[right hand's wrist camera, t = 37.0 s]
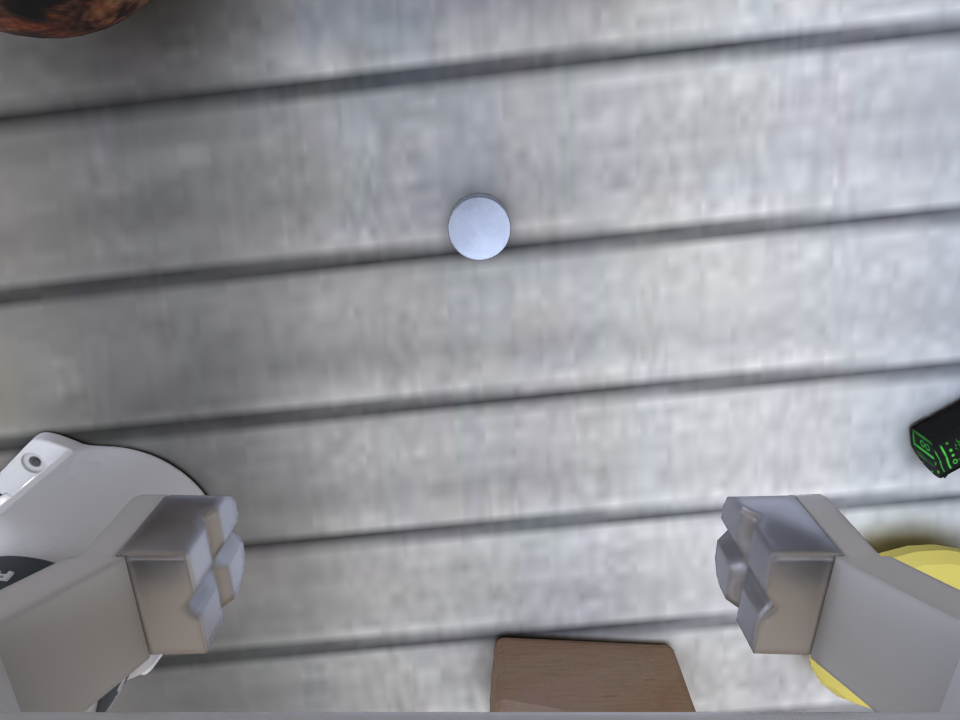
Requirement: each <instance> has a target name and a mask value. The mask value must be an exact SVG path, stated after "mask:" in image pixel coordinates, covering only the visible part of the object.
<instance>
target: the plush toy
mask: <svg viewBox="0 0 960 720" xmlns="http://www.w3.org/2000/svg"><path fill="white" fill-rule="evenodd" d="M148 1H149V0H0V31H1V32H5V33H9V34H13V35H19V36H27V37H35V38H69V37H76V36H83V35H86V34H89V33H93V32H96V31H100V30H103V29H106V28H109V27H111V26H113V25H115V24H117V23H119V22H121V21H123V20H124V19H126V18H127V17H129V16H130V15H132V14H133V13H135V12H136V11H138V10H139V9H141V8H142V7H143V6H144V5H145V4H146V3H147V2H148Z"/></svg>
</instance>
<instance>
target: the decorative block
mask: <svg viewBox="0 0 960 720" xmlns="http://www.w3.org/2000/svg"><path fill="white" fill-rule="evenodd" d="M490 712H696V711H695V709H694V706H693V703H692V700H691V698H690V695H689V692H688V689H687V686H686V684H685V681H684V678H683V675H682V673H681V670H680V667H679V664H678V662H677V659H676V656H675V653H674V650H673V649H672V648H671V647H669V646H667V645H651V644H630V643H609V642H588V641H567V640H546V639H525V638H504V637H503V638H500V639H498V641H497V643H496V645H495V651H494V662H493V673H492V684H491V694H490Z"/></svg>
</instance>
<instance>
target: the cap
mask: <svg viewBox="0 0 960 720" xmlns="http://www.w3.org/2000/svg"><path fill="white" fill-rule="evenodd" d="M510 232H511V225H510V220H509V216H508V213H507V211H506V209H505V207H504V205H503V204H502V203H501V202H500V201H499V200H498V199H497V198H495V197H493V196H491V195H489V194H485V193H474V194H470V195H468V196H465V197H464V198H462V199H461V200H460V201H459V202H458V203H457V204H456V205H455V207H454V208H453V210H452V213H451V215H450V219H449V223H448V234H449V238H450V241H451V243H452V245H453V246H454V248H455V249H456V250H457V251H458V252H459V253H460V254H462V255H463V256H465V257H467V258H469V259H473V260H486V259H489V258H492V257H494V256H496V255H497V254H499V253H500V252H501V251H502V250H503V249H504V247H505V246H506V244H507V243H508V240H509V237H510Z"/></svg>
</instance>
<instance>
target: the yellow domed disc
mask: <svg viewBox="0 0 960 720" xmlns="http://www.w3.org/2000/svg"><path fill="white" fill-rule="evenodd" d="M879 555H880V556H891V557H893V558H895V559H897V560H899V561H901V562H903V563H905V564H907V565H909V566H911V567H914V568H916V569H918V570H920V571H922V572H924V573H926V574H928V575H930V576H932V577H934V578H936V579H938V580H940V581H942V582H944V583H946V584H948V585H950V586H952V587H955V588H957V589H959V590H960V549H959V548H953V547H947V546H941V545H935V544H929V545H911V546H904V547H900V548H896V549H893V550H889V551H885V552H881V553H879ZM809 658H810V655H809ZM810 663H811V668H812V669H813V671H814V672H815V674H816V676H817V677H818V679H819V680H820V682H821V683H822V684H823V685H824V686H825V687H827V688H828V689H829V690H830V691H832V692H833V693H834V694H836V695H837V696H839V697H841V698H844V699H846V700H849V701H851V702H854V703H856V704H859V705H862V706H865V707H868V708H870V707H869V706H868V705H867V704H866V703H864V702H863V701H862V700H861V699H860V698H858V697H857V696H856V695H855V694H853V693H852V692H851V691H850V690H849V689H847V688H846V687H845V686H844V685H843V684H841V683H840V682H839V681H838V680H837V679H835V678H834V677H833V676H832V675H831V674H829V673H828V672H827V671H826V670H824V669H823V668H822V667H821V666H820V665H818V664H817V663H816V662H815V661H814V660H812V659H811V658H810Z"/></svg>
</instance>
